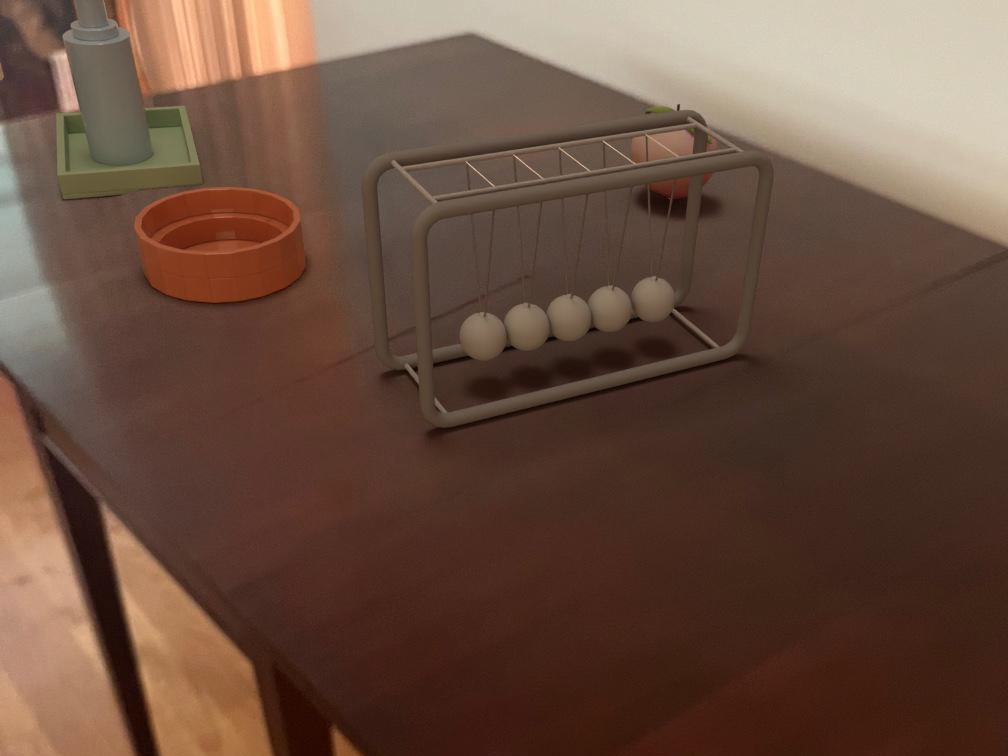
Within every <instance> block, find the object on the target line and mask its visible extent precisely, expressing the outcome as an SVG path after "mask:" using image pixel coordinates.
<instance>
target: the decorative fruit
mask: <svg viewBox="0 0 1008 756" xmlns="http://www.w3.org/2000/svg"><path fill="white" fill-rule="evenodd" d="M679 110H681V104H680V103H678V104H676V110H675V109H673V108H671V107H669V106H663V105H662V106H661V105H660V106H651V107H649V108H648V109H646V111H645V112H644V114H645V115H650V114H652V113H653V114H659V113H666V112H672V111H679ZM707 128H708V129H710V130H711V131H712V129H711V128H710V127H709V126H708V125H707ZM648 136H649V137H651V138H652V139H654V140H655V141H657V142H658V143H660V144H661V145H663V146H664V147H666V148H667V149H669V150H670V151H672V152H673V153H675V154H676V155H678V156H685V155H691V154H693V144H694V129H686V130H680V131H673V132H667V133H660V134H654V135H648ZM649 137H647V139H648V161H654V160H660V159H667V158H673V157H677V156H675V155H674V154H672V153H671V152H669V151H668V150H666V149H665V148H663V147H662V146H660V145H659V144H658V143H656V142H655V141H653V140H652V139H650V138H649ZM631 139H632V140H631V144H630V156H631V157H630V158H631V161H633V162H634V163H635V164H636V163H642V162H646V138H645V136H640V137H634V138H631ZM716 150H720V149H719V144H718V141H717V140H715V139H714V138H712V137H711V136H709V135H708V141H707V149H706V152H710V151H716ZM713 157H714V156H713ZM707 158H708V157H707ZM664 165H665V164H664ZM658 166H659V165H658ZM652 167H653V166H652ZM646 168H647V167H646ZM640 169H641V168H640ZM713 175H714V173H708V174H704V176H703V185H702V188H703V187H704V186H705V185H706V184H707V183H708V182H709V181H710V179H711V178H712V177H713ZM689 182H690V177H685V178H679V179H676V184H675V190H674V195H673V199H674V200H679V199H682V198H686V197H688V192H689ZM673 184H674V179H673V180H667V181H662V182H656V183H650V184H649V188H650V191H652V192H654V193H657V194H658V195H660V196H662V197H664V198H666V199H667V198H670V199H671V195H672V189H673ZM644 186H645V187H647V184H644Z"/></svg>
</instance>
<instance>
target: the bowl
mask: <svg viewBox="0 0 1008 756" xmlns="http://www.w3.org/2000/svg"><path fill="white" fill-rule="evenodd" d="M300 211H301V210H300V208H298V207H297V206H296V205H295V204H294V203H293V202H292V201H291V200H290V199H288V198H285V197H283V196H281V195H279V194H277V193H274V192H270V191H266V190H261V189H258V188H250V187H249V188H248V187H238V186H217V187H203V188H197V189H190V190H185V191H179V192H176V193H174V194H170V195H167V196H163V197H161V198H159V199H157V200H155V201H154V202H152V203H150V204H148V205H145V207H143V209H142V210H141V211H140V212H139V213H138V214H137V215H136V216H135V218H134V225H133V230H134V235H135V238H136V239H135V240H136V244H137V248H138V253H139V257H140V261H141V266H142V270H143V274H144V277H145V278H146V280H147V281H148V283H149V284H150V286H151V287H152V288H153V289H155V290H157V291H159V292H160V293H162V294H164V295H166V296H169V297H173V298H175V299H181V300H183V301H186V302H187V301H188V302H201V303H211V304H216V303H217V304H218V303H219V304H221V303H234V302H242V301H243V302H244V301H249V300H253V299H257V298H262V297H265V296H268V295H270V294H274V293H275V292H279V291H281V290H283V289H285V288H287V287H289V286H290V285H291V284H293V283H294V282H295V281H297V280H298V279H300V278H301V276H302V274H303V272H304V271H305V270H306V268H307V260H306V253H305V244H304V237H303V229H302V220H301V212H300Z"/></svg>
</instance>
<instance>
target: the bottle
mask: <svg viewBox="0 0 1008 756" xmlns="http://www.w3.org/2000/svg"><path fill="white" fill-rule="evenodd" d="M73 4H74V8H75V13H76V19H77V20H74V21H72V22H71V23H70V29H68V30H67V31H65V32H64V33H63V34H62V40H63V46H64V50H65V54H66V58H67V62H68V67H69V71H70V75H71V79H72V82H73V83H72V84H73V87H74V91H75V95H76V100H77V105H78V108H79V109H78V110H79V112H80V113H81V117H82V121H83V126H84V130H85V134H86V138H87V142H88V147H89V151H90V155H91V158H92V159H93V160H94V161H96V162H98V163H102V164H107V165H129V164H135V163H139V162H142V161H145V160H147V159H149V158H150V157H151V156H152V155H153V153H154V150H153V145H152V140H151V135H150V130H149V125H148V120H147V115H146V111H145V108H146V107H145V101H144V96H143V91H142V85H141V81H140V75H139V72H138V71H139V70H138V66H137V61H136V57H135V51H134V46H133V42H132V36H131V33H130V31H129V30H128V29H126V28H123V27H120V26H119V24H118V22H117V21H116V20H115V19H112V18H109V17H108V13H107V8H106V2H105V0H73Z"/></svg>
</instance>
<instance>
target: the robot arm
mask: <svg viewBox="0 0 1008 756" xmlns="http://www.w3.org/2000/svg"><path fill="white" fill-rule="evenodd" d="M3 70H4V69H3V66H2V63H1V62H0V81H2V80H4V79H5V74H4V71H3Z"/></svg>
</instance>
